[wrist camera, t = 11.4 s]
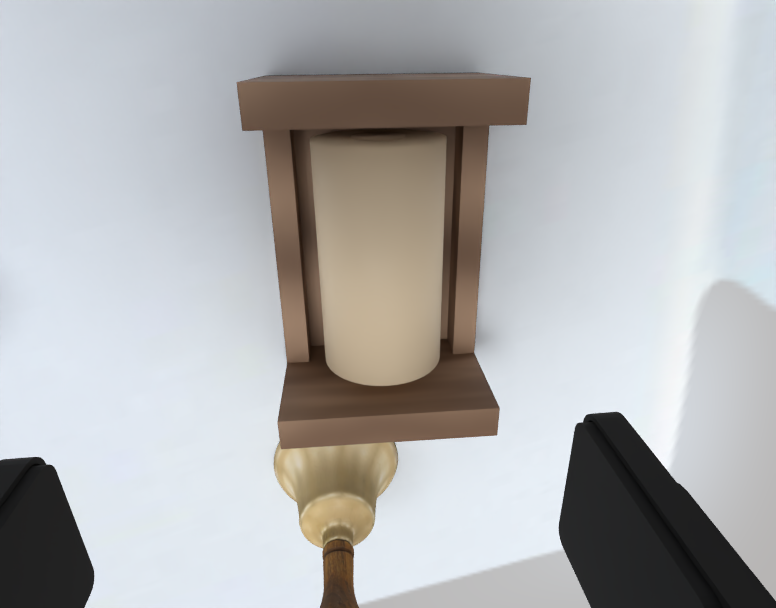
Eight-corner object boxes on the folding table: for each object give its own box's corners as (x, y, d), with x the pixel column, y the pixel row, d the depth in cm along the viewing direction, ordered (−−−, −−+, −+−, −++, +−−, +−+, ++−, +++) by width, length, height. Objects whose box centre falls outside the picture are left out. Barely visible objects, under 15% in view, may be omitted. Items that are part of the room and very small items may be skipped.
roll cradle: (265, 75, 26) (236, 82, 18) (477, 72, 26) (530, 77, 19) (293, 361, 32) (281, 449, 25) (462, 352, 33) (496, 435, 26)
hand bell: (419, 436, 36) (475, 694, 21) (363, 520, 38) (379, 799, 24) (305, 393, 33) (281, 648, 19) (254, 486, 36) (200, 770, 22)
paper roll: (311, 128, 26) (307, 147, 20) (433, 125, 26) (460, 142, 21) (325, 332, 30) (325, 391, 25) (428, 326, 31) (450, 383, 26)
